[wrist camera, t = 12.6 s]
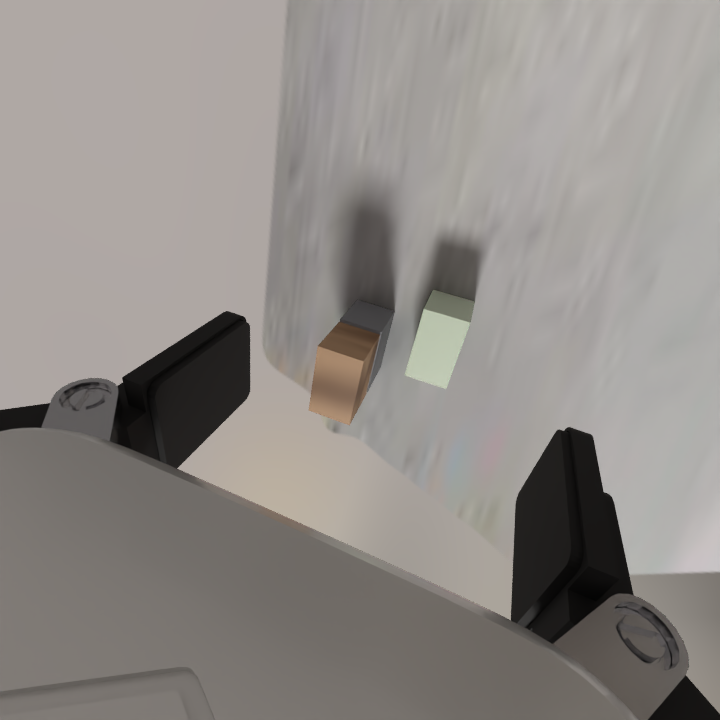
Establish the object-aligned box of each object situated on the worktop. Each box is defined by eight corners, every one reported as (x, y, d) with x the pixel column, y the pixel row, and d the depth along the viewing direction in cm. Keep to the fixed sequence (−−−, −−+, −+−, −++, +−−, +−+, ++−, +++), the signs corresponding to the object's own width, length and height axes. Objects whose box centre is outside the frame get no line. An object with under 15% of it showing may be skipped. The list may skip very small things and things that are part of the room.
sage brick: (433, 289, 38) (423, 308, 34) (474, 301, 37) (470, 322, 33) (415, 350, 42) (404, 375, 38) (452, 362, 41) (446, 388, 37)
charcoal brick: (357, 299, 41) (340, 318, 37) (394, 310, 40) (381, 332, 36) (346, 356, 45) (330, 379, 40) (380, 367, 44) (367, 392, 40)
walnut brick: (339, 321, 37) (317, 346, 33) (380, 334, 36) (363, 361, 32) (329, 381, 41) (308, 410, 37) (365, 394, 40) (349, 425, 36)
